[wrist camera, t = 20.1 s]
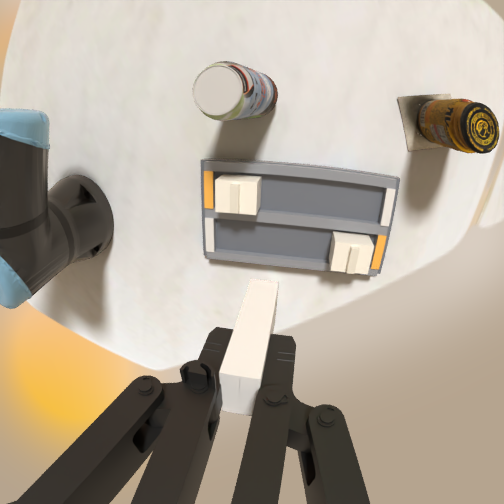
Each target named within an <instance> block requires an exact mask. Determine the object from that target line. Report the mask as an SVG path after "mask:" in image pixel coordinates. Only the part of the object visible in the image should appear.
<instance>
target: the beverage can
mask: <svg viewBox="0 0 504 504" xmlns="http://www.w3.org/2000/svg"><path fill="white" fill-rule="evenodd" d="M193 98H194V101H195V103H196V105H197V106H198V108H199V109H200V110H201V111H202V112H203V113H204V114H205V115H206V116H208V117H209V118H212V119H214V120H219V121H227V120H236V119H247V118H258V117H262V116H264V115H266V114H268V113H269V112H270V111H271V110H272V109H273V108H274V106H275V104H276V102H277V98H278V92H277V88H276V85H275V83H274V82H273V81H272V79H271V78H269V77H268V76H267V75H265V74H263V73H260V72H258V71H255V70H253V69H250V68H248V67H245V66H242V65H240V64H237V63H234V62H228V61H223V62H217V63H214V64H212V65H210V66H209V67H207V68H206V69H204V70H203V71H202V72H201V73H200V74H199V75H198V76H197V78H196V80H195V82H194V85H193Z"/></svg>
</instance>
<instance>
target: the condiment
mask: <svg viewBox="0 0 504 504" xmlns="http://www.w3.org/2000/svg"><path fill="white" fill-rule="evenodd" d="M398 101H399V106H400V111H401V115H402V120H403V125H404V130H405V135H406V141H407V146H408V151H414V150H422V149H430V148H437V147H449V148H452V149H455V150H457V151H462V152H466V153H475V152H476V153H480V154H481V153H482V154H483V153H488V152H491V151H492V150H493V149H494V148H495V147H496V145H497V143H498V139H499V126H498V121H497V119H496V117H495V115H494V114H493V112H492V111H491V110H490V108H488V107H487V106H486V105H484V104H481V103H477V102H472V101H470V100H467V99H451V95H450V94H436V95H419V96H406V97H398ZM419 104H420V105H419ZM417 132H418V133H419V134H417ZM420 134H421V135H422V136H420Z"/></svg>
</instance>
